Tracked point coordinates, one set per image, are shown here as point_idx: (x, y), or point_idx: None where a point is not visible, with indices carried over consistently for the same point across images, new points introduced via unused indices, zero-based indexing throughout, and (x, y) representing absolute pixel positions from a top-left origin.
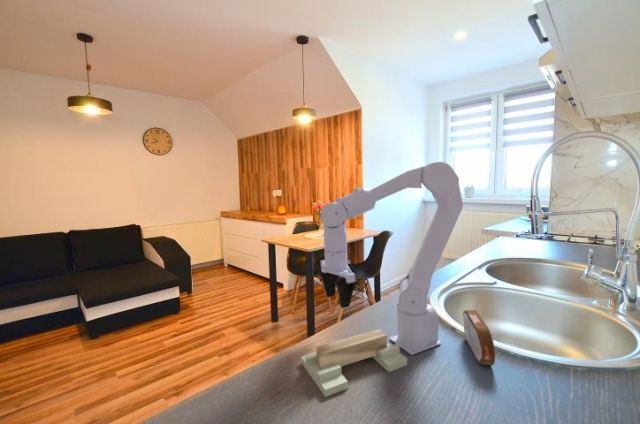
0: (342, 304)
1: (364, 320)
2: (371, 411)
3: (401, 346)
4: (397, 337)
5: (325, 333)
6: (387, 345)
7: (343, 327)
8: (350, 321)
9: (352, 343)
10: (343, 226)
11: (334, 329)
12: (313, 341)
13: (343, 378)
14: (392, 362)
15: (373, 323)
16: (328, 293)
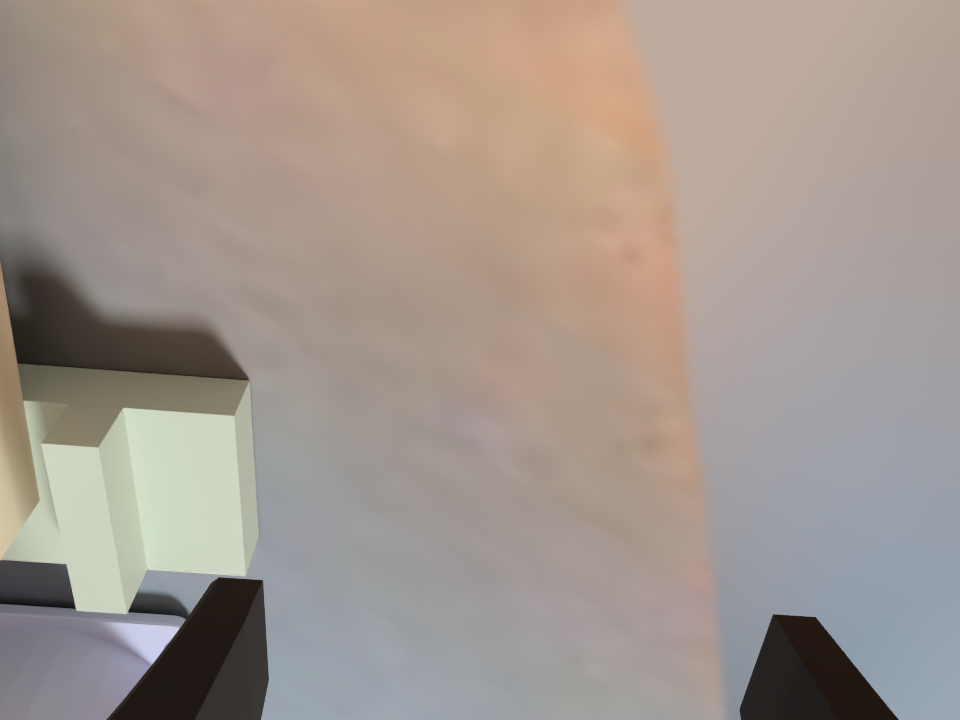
0: (184, 633)
1: (590, 643)
2: None
3: (21, 615)
4: (108, 665)
5: (640, 234)
6: (11, 545)
7: (614, 445)
8: (665, 552)
9: None
10: None
11: (644, 356)
12: (580, 16)
13: None
14: None
15: (494, 665)
16: (789, 684)
